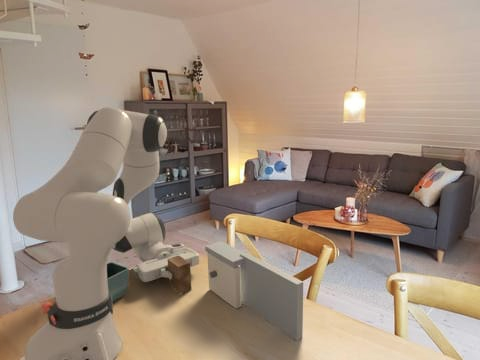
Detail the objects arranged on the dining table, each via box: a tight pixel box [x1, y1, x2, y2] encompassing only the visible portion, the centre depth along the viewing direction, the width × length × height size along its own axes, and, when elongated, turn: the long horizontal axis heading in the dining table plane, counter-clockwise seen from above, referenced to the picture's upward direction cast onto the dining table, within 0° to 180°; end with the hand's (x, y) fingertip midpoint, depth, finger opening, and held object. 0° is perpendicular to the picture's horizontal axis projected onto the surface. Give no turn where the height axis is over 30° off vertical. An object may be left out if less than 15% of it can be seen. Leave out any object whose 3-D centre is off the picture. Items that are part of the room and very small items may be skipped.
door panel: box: [206, 252, 242, 309], centre depth 108 cm, size 3×14×12 cm, turn 37°
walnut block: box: [167, 255, 192, 295], centre depth 115 cm, size 4×7×9 cm, turn 37°
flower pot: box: [107, 261, 130, 303], centre depth 110 cm, size 9×9×9 cm
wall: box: [204, 240, 304, 341], centre depth 101 cm, size 6×34×15 cm, turn 37°
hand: (180, 273), depth 114 cm, fingers closed on walnut block, 4 cm apart
